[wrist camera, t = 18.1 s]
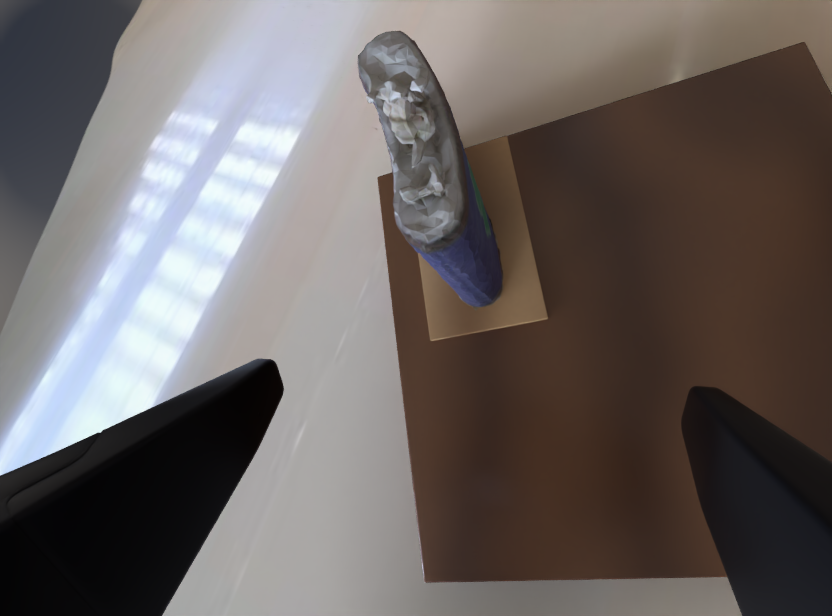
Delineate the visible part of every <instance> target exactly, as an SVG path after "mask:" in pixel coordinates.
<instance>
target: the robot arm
mask: <svg viewBox="0 0 832 616" xmlns="http://www.w3.org/2000/svg"><path fill="white" fill-rule="evenodd" d="M283 391H284V387H283V383H282V380H281V376H280V373H279V370H278V367H277V364H276V363H275V361H274V360H271V359H256V360H253V361H251V362H249V363H247V364H245V365H243V366H241V367H238V368H236V369H234V370H232V371H230V372H228V373H225V374H223V375H221V376H219V377H217V378H215V379H213V380H210V381H208V382H206V383H204V384H202V385H200V386H197V387H195V388H193V389H191V390H189V391H187V392H185V393H182V394H180V395H178V396H176V397H174V398H172V399H170V400H167V401H165V402H163V403H161V404H159V405H157V406H154V407H152V408H150V409H148V410H146V411H144V412H142V413H139V414H137V415H135V416H133V417H131V418H129V419H127V420H124V421H122V422H120V423H118V424H116V425H114V426H111V427H109V428H107V429H105V430H103V431H102V432H101V433H96V434H94V435H92V436H90V437H88V438H85V439H83V440H81V441H79V442H77V443H75V444H72V445H70V446H68V447H66V448H64V449H61V450H59V451H57V452H55V453H52V454H50V455H48V456H46V457H43V458H41V459H39V460H36V461H34V462H32V463H29V464H27V465H25V466H22V467H20V468H18V469H15V470H13V471H10V472H8V473H6V474H3V475H1V476H0V616H162V615H163V613H164V611H165V610H166V608H167V606H168V604H169V603H170V601H171V599H172V597H173V596H174V594H175V592H176V591H177V589H178V587H179V585H180V584H181V582H182V580H183V578H184V577H185V575H186V573H187V571H188V570H189V568H190V566H191V565H192V563H193V561H194V559H195V558H196V556H197V554H198V552H199V551H200V549H201V547H202V546H203V544H204V542H205V540H206V539H207V537H208V535H209V533H210V532H211V530H212V528H213V527H214V525H215V523H216V521H217V520H218V518H219V516H220V514H221V513H222V511H223V509H224V507H225V506H226V504H227V502H228V501H229V499H230V497H231V495H232V494H233V492H234V490H235V488H236V487H237V485H238V483H239V482H240V480H241V478H242V476H243V475H244V473H245V471H246V469H247V468H248V466H249V464H250V463H251V461H252V459H253V457H254V455H255V454H256V452H257V450H258V448H259V446H260V444H261V442H262V440H263V438H264V435H265V433H266V431H267V429H268V427H269V424H270V422H271V420H272V418H273V416H274V413H275V411H276V409H277V407H278V405H279V402H280V400H281V398H282V396H283ZM681 429H682V434H683V438H684V442H685V446H686V450H687V454H688V458H689V462H690V466H691V470H692V474H693V478H694V482H695V486H696V490H697V494H698V497H699V501H700V504H701V508H702V511H703V513H704V516H705V519H706V522H707V525H708V527H709V530H710V532H711V535H712V538H713V540H714V543H715V545H716V548H717V551H718V553H719V556H720V559H721V561H722V564H723V566H724V569H725V572H726V574H727V577H728V579H729V582H730V585H731V587H732V590H733V593H734V595H735V598H736V600H737V603H738V606H739V608H740V611H741V613H742V616H832V462H831V461H829V460H828V459H826V458H825V457H823V456H822V455H820V454H819V453H817V452H816V451H814V450H812V449H811V448H809V447H808V446H806V445H805V444H803V443H802V442H800V441H799V440H797V439H796V438H794V437H793V436H791V435H790V434H788V433H786V432H785V431H783V430H782V429H780V428H779V427H777V426H776V425H774V424H773V423H771V422H770V421H768V420H767V419H765V418H764V417H762V416H761V415H759V414H757V413H756V412H754V411H753V410H751V409H750V408H748V407H747V406H745V405H744V404H742V403H741V402H739V401H738V400H736V399H735V398H733V397H731V396H730V395H728V394H727V393H725V392H724V391H722V390H721V389H719V388H716V387H704V386H694V387H692V388H691V389H690V390H689V393H688V396H687V400H686V404H685V407H684V411H683V415H682V419H681Z"/></svg>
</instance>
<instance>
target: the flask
mask: <svg viewBox="0 0 832 616" xmlns="http://www.w3.org/2000/svg"><path fill="white" fill-rule="evenodd" d="M358 68H359V77H360V79H361V81H362V83H363V87H364V89H365V91H366V93H367V94H368V95H367V100H368V103H374V105H375V107H376V109H377V112H378V115H379V121H380V123H381V124H382V128H383V132H384V135H385V139H386V142H387V146H388V151H389V154H390V158H391V165H392V172H393V177H394V198H393V206H394V211H395V220H396V225H397V226H398V228H399V229H400V231H401V232H402V234H403V236H404V237H405V239H406V240H407V241H408V243H409V244H410V245H411V246H412V247H413V248H414V249H415V251H416V252H417V253H420V254H421V256H422V258H423V259H425V260H426V261H427V262H428V263H429V264H430V266H432V267H433V268H434V270H436V271H437V272H438V274H439V275H440V276H441V277H442V279H443V280H445V281H446V283H448V284H449V285H450V287H452V288H453V289H454V290H455V292H456V293H457V294H458V295H459V298H460V299H461V300H462V301H463V302H465V303H466V304H467V305H469V306H472V307H473V308H474V309H475V311H476V310H477V309H478V308H481V307H486V306H490V305H493V304H494V303H495V302H496V301H497V300H498V299H499V298H500V297H501V293H502V290H503V287H504V286H503V283H502V282H503V269H502V268H503V266H502V263H501V258H500V257H501V255H500V254H501V253H500V249H499V248H498V241H497V239H496V233H495V232H494V230H493V225H492V222H491V219H490V218H489V216H488V214H487V212H486V209H485V207H484V204H483V200H482V197H481V194H480V191H479V189H478V187H477V184H476V181H475V178H474V176H473V172H472V170H471V167H470V164H469V162H468V159H467V156H466V153H465V151H464V148H463V145H462V142H461V139H460V136H459V132H458V129H457V126H456V123H455V120H454V117H453V114H452V111H451V108H450V106H449V103H448V101H447V99H446V97H445V94H444V91H443V90H442V88H441V86H440V84H439V82H438V80H437V78H436V76H435V74H434V72H433V71H432V69H431V67H430V65H429V63H428V62H427V60H426V58H425V57H424V55H423V54H422V52H421V50H420V49H419V48H418V46H417V44H416V43H415V41H413V40H412V39H410V38H409V37H408V36H407V35H406V34H405V33H403V32H401V31H391V32H385V33H382V34H380V35H378V36H376V37H375V38H374V39H373V40H372V41H371V42H369V43H368V44H367V45H366V46H365V48H364V50H363V51H362V52H361V53H360V54H359V55H358Z"/></svg>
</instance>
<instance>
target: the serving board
mask: <svg viewBox="0 0 832 616" xmlns="http://www.w3.org/2000/svg"><path fill="white" fill-rule="evenodd" d="M464 151H465V153H466V156H467V159H468V162H469V164H470V167H471V170H472V172H473V176H474V178H475V181H476V184H477V187H478V189H479V191H480V194H481V197H482V200H483V204H484V207H485V209H486V212H487V214H488V216H489V218H490V219H491V222H492V225H493V230H494V232H495V233H496V239H497V241H498V248H499V249H500V253H501V254H500V255H501V257H500V258H501V263H502V266H503V268H502V269H503V282H502V283H503V286H504V287H503V290H502V293H501V297H500V298H499V299H498V300H497V301H496V302H495V303H494V304H493V305H490V306H486V307H481V308H478V309H477V310H476V311H475V309H474V308H473V307H472V306H469V305H467V304H466V303H465V302H463V301H462V300H461V299H460V298H459V295H458V294H457V293H456V292H455V290H454V289H453V288H452V287H450V285H449V284H448V283H446V281H445V280H443V279H442V277H441V276H440V275H439V274H438V272H437V271H436V270H434V268H433V267H432V266H430V264H429V263H428V262H427V261H426V260H425V259H423V258H422V256H421V254H420V253H417V252H416V251H415V249H414V248H413V247H412V246H411V245H410V244H409V243H408V241H407V240H406V239H405V237H404V236H403V234H402V232H401V231H400V229H399V228H398V226H397V225H396V220H395V211H394V206H393V198H394V177H393V172H392V173H389V174H386V175H383V176H379V177H378V186H379V195H380V204H381V212H382V221H383V230H384V238H385V247H386V256H387V264H388V273H389V282H390V290H391V299H392V308H393V316H394V325H395V334H396V342H397V351H398V360H399V368H400V377H401V386H402V394H403V403H404V412H405V420H406V429H407V438H408V446H409V455H410V464H411V472H412V481H413V490H414V498H415V507H416V516H417V524H418V533H419V542H420V550H421V559H422V567H423V576H424V582H426V583H431V582H484V581H537V580H590V579H643V578H696V577H727V574H726V572H725V569H724V566H723V564H722V561H721V559H720V556H719V553H718V551H717V548H716V545H715V543H714V540H713V538H712V535H711V532H710V530H709V527H708V525H707V522H706V519H705V516H704V513H703V511H702V508H701V504H700V501H699V497H698V494H697V490H696V486H695V482H694V478H693V474H692V470H691V466H690V462H689V458H688V454H687V450H686V446H685V442H684V438H683V434H682V429H681V419H682V415H683V411H684V407H685V404H686V400H687V396H688V393H689V390H690V389H691V388H692V387H694V386H704V387H716V388H719V389H721V390H722V391H724V392H725V393H727V394H728V395H730V396H731V397H733V398H735V399H736V400H738V401H739V402H741V403H742V404H744V405H745V406H747V407H748V408H750V409H751V410H753V411H754V412H756V413H757V414H759V415H761V416H762V417H764V418H765V419H767V420H768V421H770V422H771V423H773V424H774V425H776V426H777V427H779V428H780V429H782V430H783V431H785V432H786V433H788V434H790V435H791V436H793V437H794V438H796V439H797V440H799V441H800V442H802V443H803V444H805V445H806V446H808V447H809V448H811V449H812V450H814V451H816V452H817V453H819V454H820V455H822V456H823V457H825V458H826V459H828V460H829V461H831V462H832V94H831V92H830V90H829V88H828V86H827V85H826V83H825V81H824V79H823V77H822V75H821V73H820V71H819V69H818V67H817V65H816V63H815V61H814V59H813V57H812V55H811V53H810V51H809V49H808V47H807V45H806V43H805V42H802V43H799V44H795V45H792V46H789V47H786V48H783V49H780V50H777V51H773V52H770V53H767V54H764V55H761V56H758V57H754V58H751V59H748V60H745V61H742V62H739V63H736V64H732V65H729V66H726V67H723V68H720V69H717V70H714V71H710V72H707V73H704V74H701V75H698V76H695V77H691V78H688V79H685V80H682V81H679V82H676V83H673V84H669V85H666V86H663V87H660V88H657V89H654V90H650V91H647V92H644V93H641V94H638V95H635V96H632V97H628V98H625V99H622V100H619V101H616V102H613V103H610V104H606V105H603V106H600V107H597V108H594V109H591V110H587V111H584V112H581V113H578V114H575V115H572V116H569V117H565V118H562V119H559V120H556V121H553V122H550V123H546V124H543V125H540V126H537V127H534V128H531V129H528V130H524V131H521V132H518V133H515V134H512V135H509V136H503V137H500V138H497V139H494V140H491V141H487V142H484V143H481V144H478V145H475V146H472V147H469V148H465V149H464Z"/></svg>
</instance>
